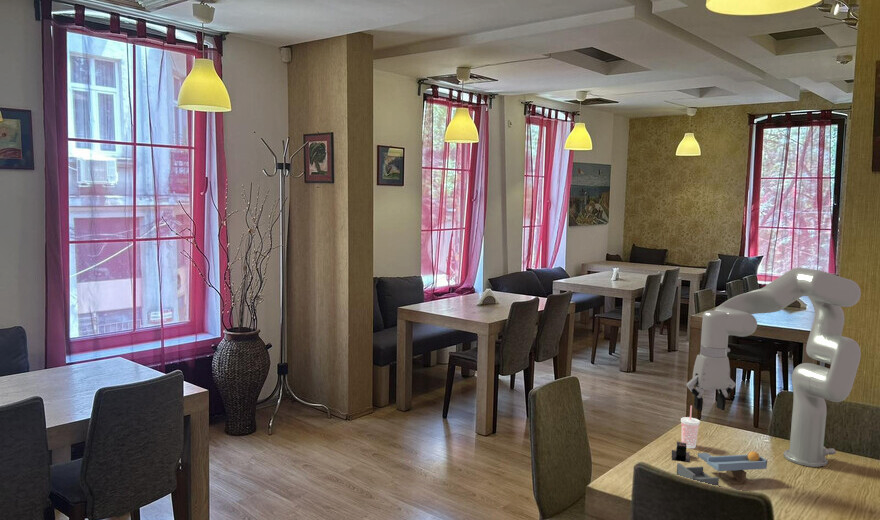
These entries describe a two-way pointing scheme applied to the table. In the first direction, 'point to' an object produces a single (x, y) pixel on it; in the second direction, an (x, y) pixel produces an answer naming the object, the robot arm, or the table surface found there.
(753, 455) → the ball
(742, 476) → the fulcrum
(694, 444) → the beverage cup
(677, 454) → the black boxy piece
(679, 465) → the tray
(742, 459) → the lever
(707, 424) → the table surface
